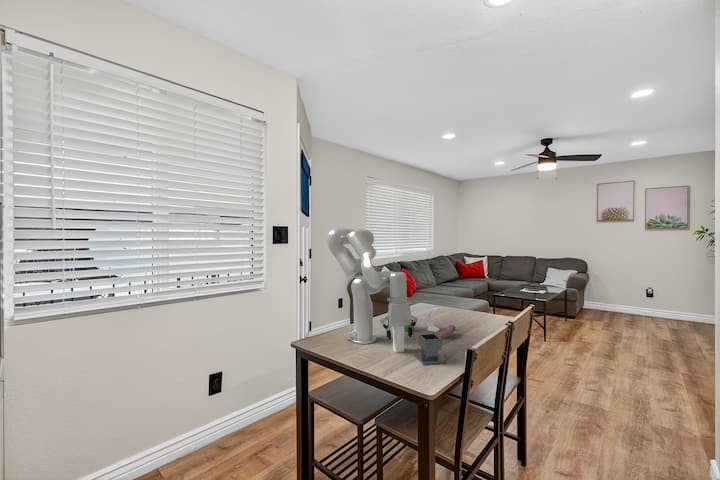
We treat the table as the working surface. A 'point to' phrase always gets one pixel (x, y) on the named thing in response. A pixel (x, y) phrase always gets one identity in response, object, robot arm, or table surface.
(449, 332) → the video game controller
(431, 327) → the headphone stand
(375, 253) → the robot arm
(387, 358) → the table surface
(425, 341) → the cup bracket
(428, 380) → the table surface
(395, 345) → the rail post
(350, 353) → the table surface
